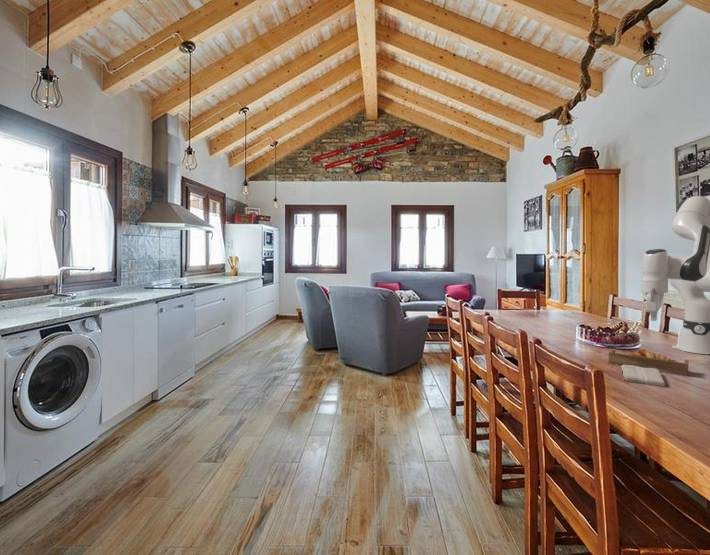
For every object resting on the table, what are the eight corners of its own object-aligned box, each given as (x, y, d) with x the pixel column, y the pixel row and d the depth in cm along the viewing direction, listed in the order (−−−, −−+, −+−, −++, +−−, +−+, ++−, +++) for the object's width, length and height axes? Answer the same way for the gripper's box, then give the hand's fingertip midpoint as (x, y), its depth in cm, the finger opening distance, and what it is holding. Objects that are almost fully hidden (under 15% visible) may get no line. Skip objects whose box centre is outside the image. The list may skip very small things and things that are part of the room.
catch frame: (612, 359, 163) (612, 349, 163) (688, 371, 146) (688, 360, 146) (608, 363, 157) (608, 352, 157) (687, 376, 141) (687, 364, 140)
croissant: (681, 377, 150) (681, 357, 153) (687, 371, 143) (686, 351, 145) (616, 367, 162) (617, 349, 164) (618, 361, 154) (619, 342, 156)
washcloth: (658, 375, 144) (658, 366, 144) (666, 389, 128) (666, 380, 128) (619, 369, 150) (620, 362, 150) (623, 382, 135) (623, 374, 135)
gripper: (661, 290, 151) (660, 325, 152) (666, 286, 166) (665, 317, 167) (641, 290, 155) (641, 323, 156) (648, 285, 170) (647, 316, 171)
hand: (653, 320), depth 162 cm, fingers closed
